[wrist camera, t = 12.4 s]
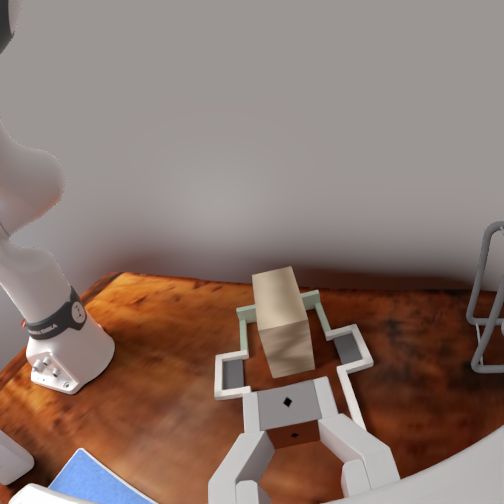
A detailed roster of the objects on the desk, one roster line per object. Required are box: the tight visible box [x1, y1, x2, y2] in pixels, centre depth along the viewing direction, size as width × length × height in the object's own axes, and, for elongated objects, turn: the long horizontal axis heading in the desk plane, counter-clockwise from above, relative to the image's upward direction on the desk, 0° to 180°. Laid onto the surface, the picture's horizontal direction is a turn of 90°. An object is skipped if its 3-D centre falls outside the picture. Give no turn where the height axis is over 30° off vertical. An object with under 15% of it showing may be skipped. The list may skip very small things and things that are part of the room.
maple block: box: [252, 266, 315, 378], centre depth 42 cm, size 6×12×10 cm, turn 4°
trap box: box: [214, 290, 373, 430], centre depth 38 cm, size 22×27×3 cm
